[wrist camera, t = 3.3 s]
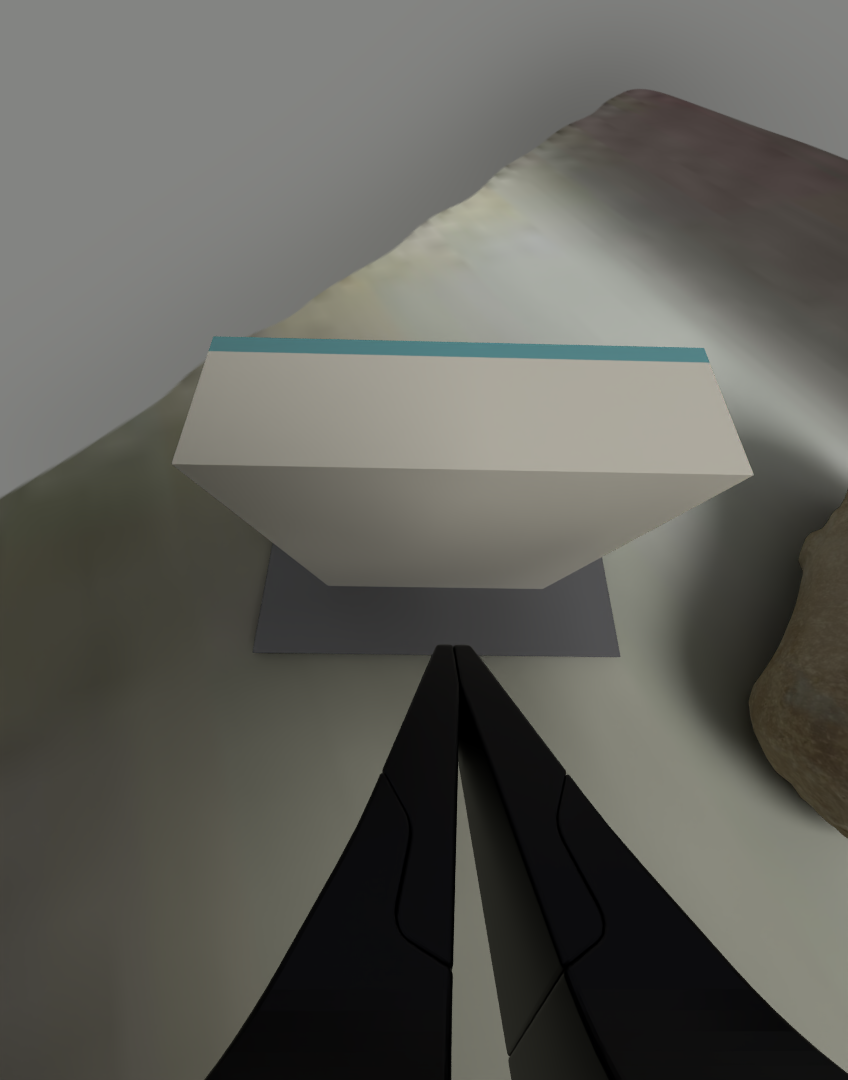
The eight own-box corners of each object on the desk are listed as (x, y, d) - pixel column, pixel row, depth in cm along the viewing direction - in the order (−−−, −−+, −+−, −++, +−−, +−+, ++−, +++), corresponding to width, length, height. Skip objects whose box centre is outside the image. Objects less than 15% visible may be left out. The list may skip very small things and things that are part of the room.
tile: (542, 589, 15) (754, 474, 6) (328, 586, 15) (171, 463, 5) (535, 529, 16) (703, 348, 7) (335, 526, 16) (213, 336, 6)
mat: (613, 656, 14) (620, 656, 14) (258, 652, 14) (252, 652, 14) (560, 359, 21) (563, 352, 20) (311, 354, 20) (308, 347, 20)
